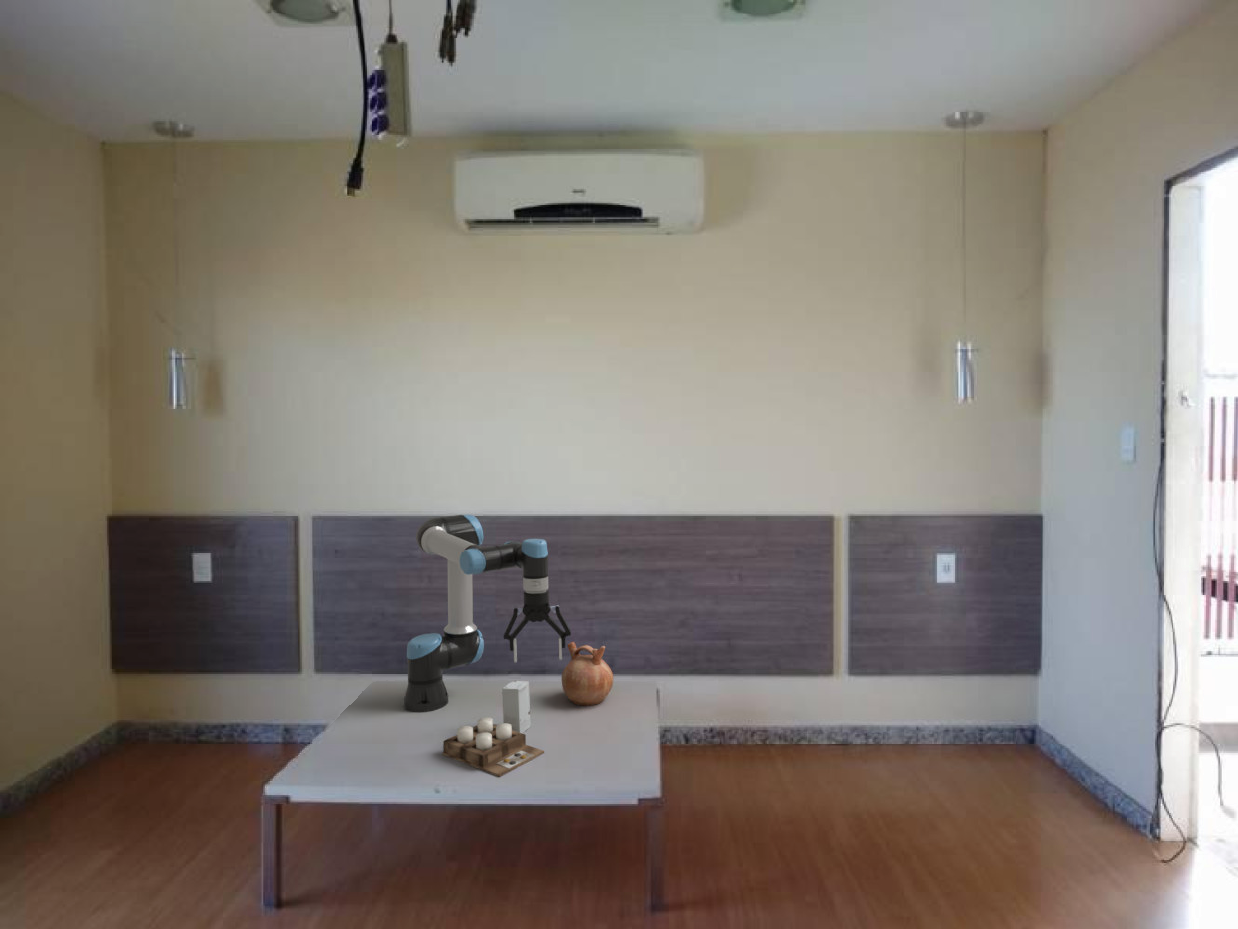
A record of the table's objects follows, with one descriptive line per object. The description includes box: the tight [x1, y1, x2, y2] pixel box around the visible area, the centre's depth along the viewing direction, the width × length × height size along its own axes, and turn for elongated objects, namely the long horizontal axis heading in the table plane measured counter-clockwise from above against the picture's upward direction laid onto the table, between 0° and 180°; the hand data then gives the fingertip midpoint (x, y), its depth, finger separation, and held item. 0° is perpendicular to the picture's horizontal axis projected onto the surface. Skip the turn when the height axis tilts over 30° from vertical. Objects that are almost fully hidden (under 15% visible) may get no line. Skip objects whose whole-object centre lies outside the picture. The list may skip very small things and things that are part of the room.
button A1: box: [456, 725, 473, 745], centre depth 224 cm, size 5×5×4 cm
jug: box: [561, 641, 614, 707], centre depth 264 cm, size 18×18×20 cm
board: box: [441, 723, 545, 778], centre depth 223 cm, size 24×18×4 cm
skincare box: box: [501, 680, 531, 734], centre depth 239 cm, size 8×6×15 cm
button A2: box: [477, 716, 494, 733], centre depth 230 cm, size 5×5×4 cm
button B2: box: [496, 723, 512, 742], centre depth 225 cm, size 5×5×4 cm
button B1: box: [476, 733, 492, 752], centre depth 219 cm, size 5×5×4 cm
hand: (538, 659), depth 230 cm, fingers open, 13 cm apart
